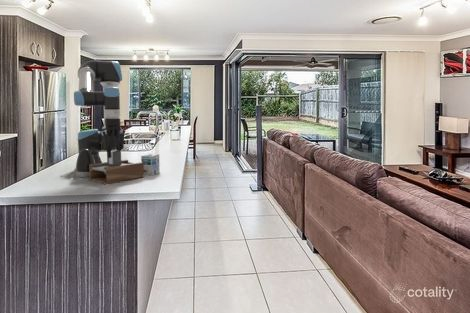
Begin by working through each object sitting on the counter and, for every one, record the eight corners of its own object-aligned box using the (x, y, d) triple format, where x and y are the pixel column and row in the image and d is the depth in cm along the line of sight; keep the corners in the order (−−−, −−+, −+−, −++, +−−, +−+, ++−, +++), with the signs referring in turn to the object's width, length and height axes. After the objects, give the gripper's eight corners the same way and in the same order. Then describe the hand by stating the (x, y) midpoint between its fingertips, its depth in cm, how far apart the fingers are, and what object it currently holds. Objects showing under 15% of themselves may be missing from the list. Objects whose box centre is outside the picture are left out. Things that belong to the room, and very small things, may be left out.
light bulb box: (152, 175, 215) (152, 156, 214) (141, 175, 217) (140, 155, 215) (160, 172, 226) (159, 153, 224) (149, 171, 227) (148, 153, 225)
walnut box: (89, 180, 201) (89, 164, 200) (125, 174, 218) (125, 159, 216) (107, 184, 191) (106, 167, 190) (143, 178, 208) (143, 162, 207)
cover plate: (91, 169, 199) (90, 151, 198) (121, 164, 213) (121, 148, 212) (106, 172, 191) (105, 153, 190) (136, 167, 205) (136, 150, 204)
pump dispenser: (100, 175, 213) (99, 148, 211) (87, 179, 204) (86, 150, 201) (85, 174, 217) (84, 147, 214) (71, 177, 207) (70, 149, 205)
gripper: (102, 118, 190) (104, 166, 193) (130, 117, 202) (131, 162, 206) (94, 118, 195) (96, 164, 198) (121, 117, 207) (123, 161, 210)
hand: (114, 163), depth 202 cm, fingers closed on cover plate, 3 cm apart
